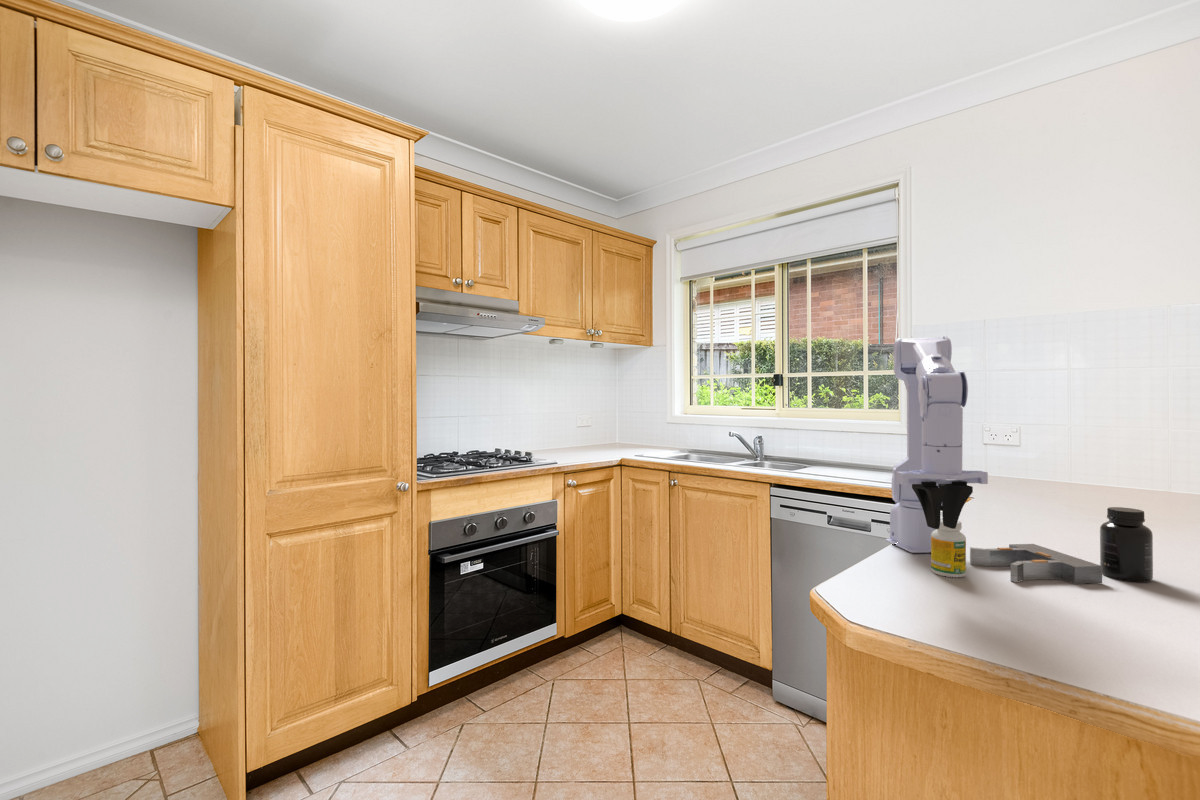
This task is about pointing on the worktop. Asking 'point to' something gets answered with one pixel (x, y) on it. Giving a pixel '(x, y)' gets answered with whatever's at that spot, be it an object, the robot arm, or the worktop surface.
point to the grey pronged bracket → (1038, 563)
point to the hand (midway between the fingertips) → (941, 527)
